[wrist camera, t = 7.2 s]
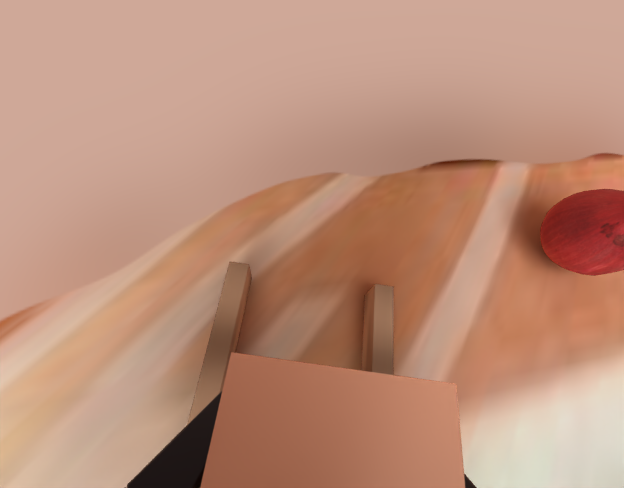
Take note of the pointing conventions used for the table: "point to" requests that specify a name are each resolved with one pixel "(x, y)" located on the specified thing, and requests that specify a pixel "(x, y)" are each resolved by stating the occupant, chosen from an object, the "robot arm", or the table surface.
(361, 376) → the block
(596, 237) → the onion
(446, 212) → the table surface
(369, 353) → the channel
